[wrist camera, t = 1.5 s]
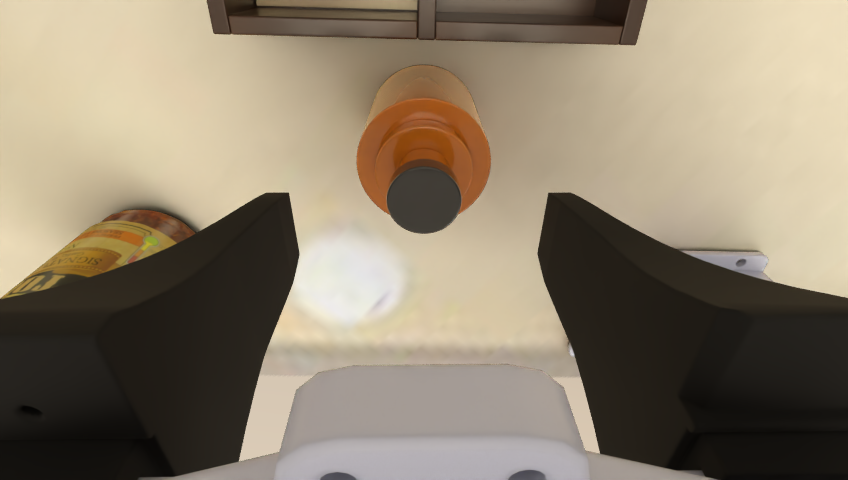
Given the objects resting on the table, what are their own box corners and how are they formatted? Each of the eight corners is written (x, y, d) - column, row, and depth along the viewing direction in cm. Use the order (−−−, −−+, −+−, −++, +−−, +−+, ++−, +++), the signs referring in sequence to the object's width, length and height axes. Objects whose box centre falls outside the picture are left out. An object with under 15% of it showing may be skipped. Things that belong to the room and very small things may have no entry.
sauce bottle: (161, 183, 22) (-655, 880, 5) (240, 273, 25) (-124, 901, 8) (67, 231, 24) (-797, 895, 7) (153, 311, 27) (-303, 908, 10)
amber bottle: (480, 65, 19) (513, 126, 12) (470, 168, 22) (494, 267, 15) (369, 63, 19) (338, 122, 12) (373, 166, 22) (349, 265, 15)
